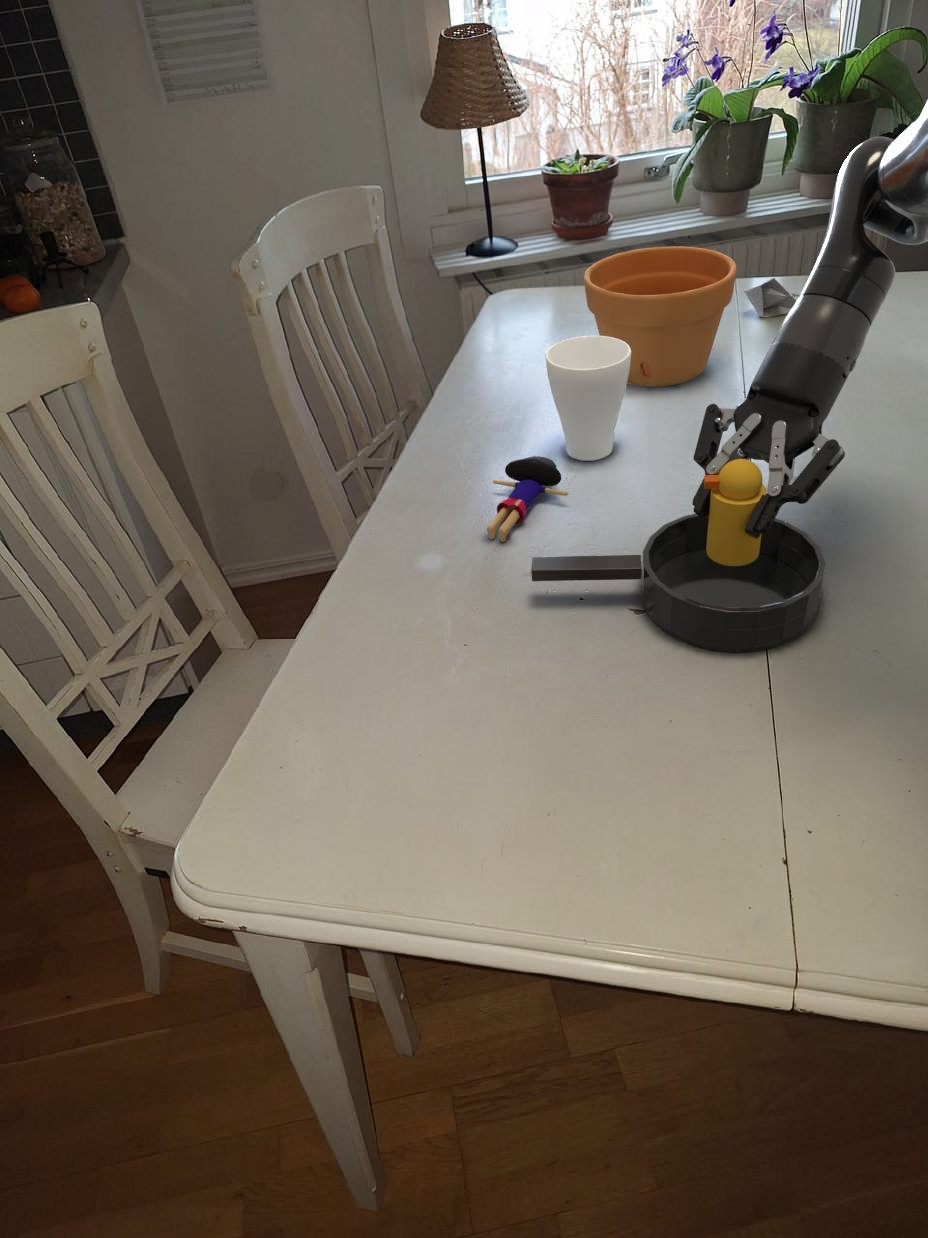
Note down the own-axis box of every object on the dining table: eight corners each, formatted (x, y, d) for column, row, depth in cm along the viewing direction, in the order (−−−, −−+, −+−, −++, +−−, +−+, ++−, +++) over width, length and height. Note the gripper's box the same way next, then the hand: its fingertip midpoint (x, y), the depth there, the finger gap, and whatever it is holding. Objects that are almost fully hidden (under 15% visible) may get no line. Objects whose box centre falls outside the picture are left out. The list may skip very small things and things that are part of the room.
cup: (536, 443, 120) (531, 347, 112) (606, 424, 122) (606, 328, 114) (571, 477, 112) (567, 377, 104) (644, 456, 114) (647, 356, 106)
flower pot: (571, 394, 131) (568, 293, 121) (601, 338, 146) (600, 245, 136) (719, 401, 124) (728, 295, 115) (734, 342, 139) (743, 244, 130)
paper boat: (779, 290, 151) (827, 286, 143) (769, 328, 152) (816, 326, 144) (735, 267, 144) (782, 261, 136) (725, 307, 145) (771, 304, 137)
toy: (536, 553, 101) (584, 483, 110) (533, 520, 98) (583, 451, 107) (458, 537, 105) (511, 471, 115) (453, 505, 102) (508, 440, 112)
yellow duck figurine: (755, 536, 89) (766, 447, 82) (762, 565, 85) (774, 474, 79) (696, 537, 90) (703, 449, 83) (701, 567, 86) (708, 476, 79)
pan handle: (640, 565, 91) (640, 554, 90) (641, 579, 89) (641, 568, 88) (533, 567, 92) (532, 556, 91) (531, 581, 91) (531, 570, 90)
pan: (800, 547, 96) (806, 507, 93) (833, 652, 83) (842, 610, 80) (638, 550, 98) (639, 512, 95) (646, 653, 85) (647, 612, 82)
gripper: (728, 325, 83) (646, 489, 85) (876, 358, 75) (781, 541, 76) (754, 359, 89) (677, 512, 91) (893, 394, 81) (805, 562, 82)
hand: (725, 524), depth 84 cm, fingers closed on yellow duck figurine, 5 cm apart
